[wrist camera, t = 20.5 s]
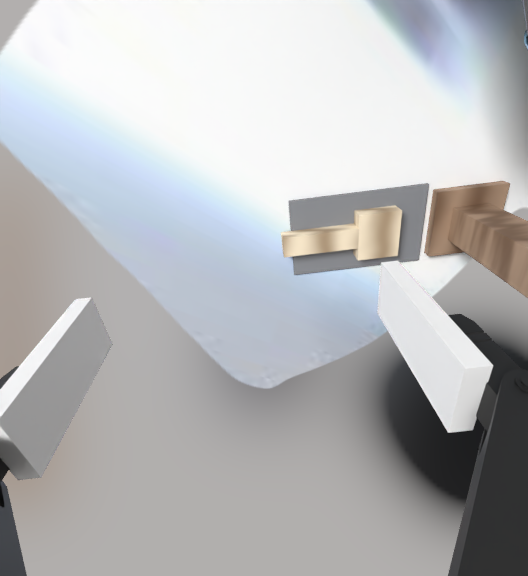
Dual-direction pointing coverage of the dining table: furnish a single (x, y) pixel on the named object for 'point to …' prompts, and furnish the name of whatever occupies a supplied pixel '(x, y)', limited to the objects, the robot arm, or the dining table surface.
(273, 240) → the dining table surface
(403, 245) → the mat
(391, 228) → the paddle
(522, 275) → the stand
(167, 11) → the dining table surface
